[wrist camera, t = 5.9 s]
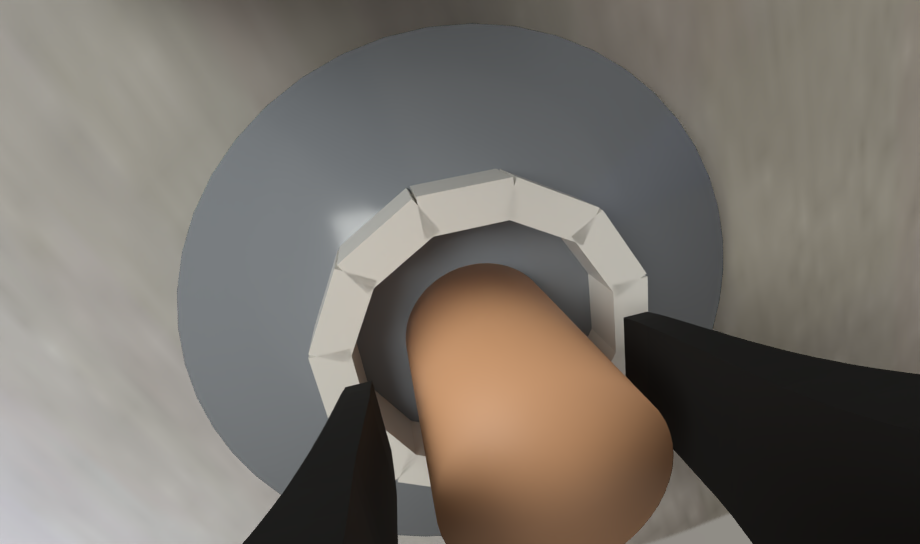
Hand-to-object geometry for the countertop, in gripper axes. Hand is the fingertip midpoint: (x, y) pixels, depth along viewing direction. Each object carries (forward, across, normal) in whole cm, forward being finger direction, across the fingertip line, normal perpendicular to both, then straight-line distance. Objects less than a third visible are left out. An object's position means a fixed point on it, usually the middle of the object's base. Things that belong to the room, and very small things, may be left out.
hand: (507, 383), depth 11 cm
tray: (+4, 0, 0) cm, 4 cm away
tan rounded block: (+3, 0, 0) cm, 3 cm away
